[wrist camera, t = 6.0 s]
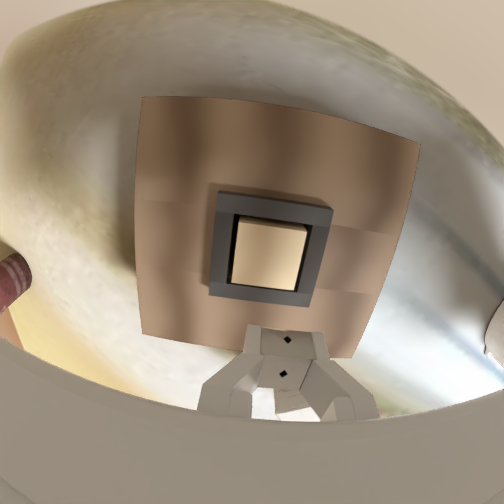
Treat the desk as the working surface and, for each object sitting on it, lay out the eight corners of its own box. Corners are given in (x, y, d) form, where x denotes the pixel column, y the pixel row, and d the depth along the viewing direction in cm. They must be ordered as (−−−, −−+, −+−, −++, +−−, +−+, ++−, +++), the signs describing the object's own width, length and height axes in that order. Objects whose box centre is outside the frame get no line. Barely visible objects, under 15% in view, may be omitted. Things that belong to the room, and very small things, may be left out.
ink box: (267, 334, 33) (269, 413, 22) (306, 322, 32) (323, 400, 21) (288, 376, 36) (294, 446, 25) (322, 366, 35) (337, 436, 24)
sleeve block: (378, 140, 23) (427, 144, 15) (334, 311, 31) (353, 365, 23) (175, 108, 22) (136, 95, 14) (165, 290, 30) (138, 340, 22)
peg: (291, 201, 26) (307, 231, 17) (283, 243, 27) (293, 290, 19) (245, 194, 25) (238, 222, 17) (239, 237, 27) (231, 282, 19)
